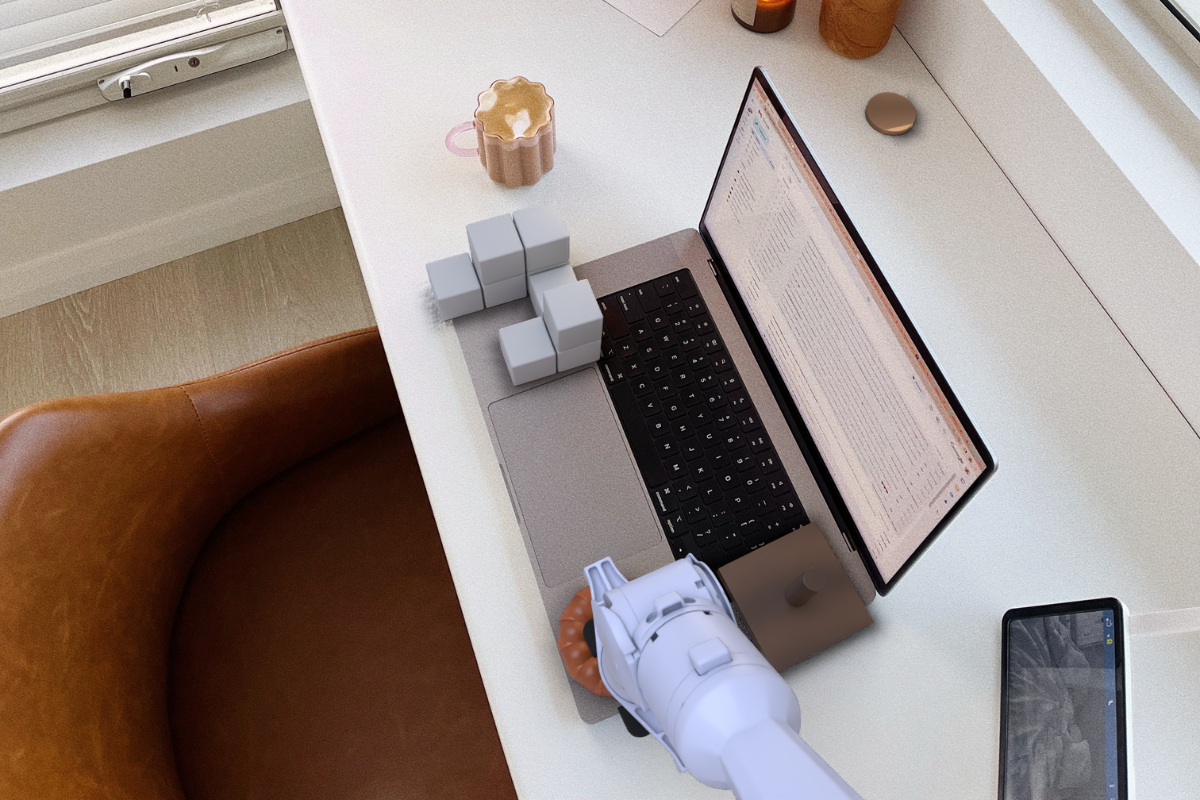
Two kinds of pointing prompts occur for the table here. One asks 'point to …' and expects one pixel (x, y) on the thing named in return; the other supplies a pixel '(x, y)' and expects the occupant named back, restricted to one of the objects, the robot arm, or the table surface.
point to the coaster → (890, 113)
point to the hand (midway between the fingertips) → (634, 675)
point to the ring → (579, 644)
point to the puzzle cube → (524, 290)
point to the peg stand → (794, 597)
